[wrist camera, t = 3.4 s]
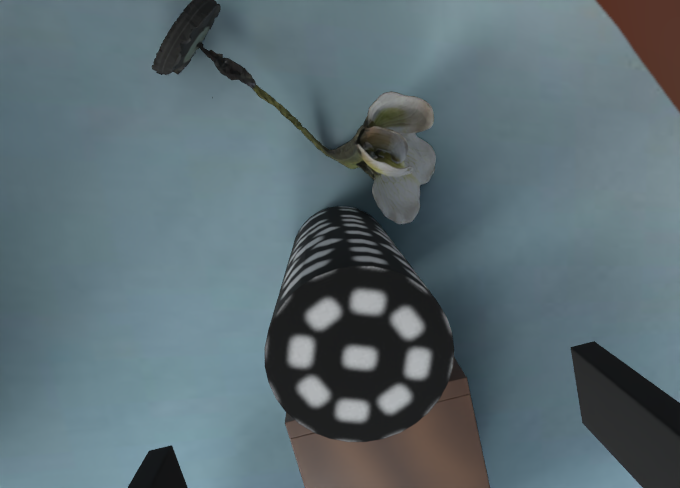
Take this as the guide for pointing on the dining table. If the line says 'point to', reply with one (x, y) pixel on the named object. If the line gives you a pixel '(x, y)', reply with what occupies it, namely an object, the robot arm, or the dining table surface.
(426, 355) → the spotted tube
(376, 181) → the artificial flower
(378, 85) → the dining table surface
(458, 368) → the rack
